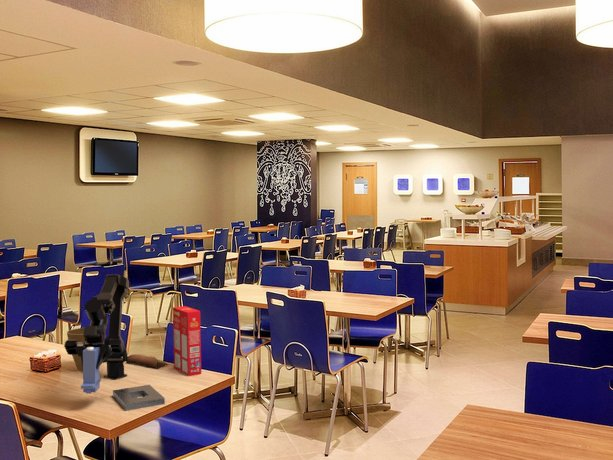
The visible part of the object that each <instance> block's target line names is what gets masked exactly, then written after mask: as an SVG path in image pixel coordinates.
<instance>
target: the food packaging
mask: <svg viewBox="0 0 613 460" xmlns="http://www.w3.org/2000/svg"><path fill="white" fill-rule="evenodd" d="M172 326H173V327H172V329H173V331H172V333H173V334H172V335H173V336H172V337H173V339H172V340H173V369H175V370H177V371H178V372H180V373H182V374H184V375H186V376H188V377H193V376H198V375H202V343H201V342H202V339H201V336H202V334H201V333H202V332H201V329H202V328H201V311H200V310H198V309H196V308H193V307H190V306H186V305H182V306H175V307H174V306H173V307H172Z"/></svg>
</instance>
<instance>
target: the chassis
mask: <svg viewBox="0 0 613 460" xmlns="http://www.w3.org/2000/svg"><path fill="white" fill-rule="evenodd" d="M112 397H113V398H114V399H115V400H116V401H117V402H118V403H119V404H120V406H121V407H122V408H123V409H124V410H125V411H132V410H139V409H143V408H149V407H154V406H161V405H165V403H166V401H165V399H166V398H165V397H164V396H163V395H162V394H161V393H159V391H157V390H156V389H155V388H154V387H153V386H152V385H150V384H146V385H139V386H134V387H133V386H132V387H127V388H121V389H115V390H114V389H113V390H112Z"/></svg>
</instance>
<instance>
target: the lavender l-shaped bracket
mask: <svg viewBox="0 0 613 460" xmlns="http://www.w3.org/2000/svg"><path fill="white" fill-rule="evenodd" d="M98 356H99V347H87V348H86V349H85V350H83V371H82V384H81V385H80V389H81V390H82V391H83V392H82V393H85V394H87V395H88V394H89V395H90V394H92V393H96V392H97V391H98V390H99V389H100V383H101V381H102V376H100V367H99V368H98V369H96V364H97V360H98Z"/></svg>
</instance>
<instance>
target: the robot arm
mask: <svg viewBox="0 0 613 460" xmlns="http://www.w3.org/2000/svg"><path fill="white" fill-rule="evenodd" d="M129 288H130V281H129V279H128V278H127V277H125V276H121V275H120V274H118V273H117V274H116V273H115V274H106V275H105V278H104V283H103V285H102V287H101V290H100V292H99V294H96V295H95V296H92V297H91V299H89V300H88V301H87V302H85V304H84V311H85V313H86V316H87V317H88V320H89V321H90V324H89V325H87V326H86V325H85V326H83V328H84V331H83V336H85V338H84V340H85V341H87V342H86V343H84V342H78V340H68V339H66V341H65V342H64V345H63V348H64V349H65V351H66V353H67V355H69V356H71V355H77V354H78V356H81V361H82V367H83V350H85V349H86V348H87V347H99V349H100V353H99V356H98V360H97V364H96V369H98V368H99V369H100V366H101V365H102V364H104V363H106V374H105V375H104V376H103V378H106V379H111V380H117V379H120V378H124V377H127V376H128V374H127V373H125V365H124V363H126V361H128V356H129V355H128V352H127V349H126V346H125V342H124V340H123V338H122V337H121V336H122V335H121V333H122V319H123V318H122V316H123V301H124V300H125V299H124V298H125V297H126V296H127V294H128V290H129ZM108 315H109V317H108ZM108 323H109V325H108ZM107 328H108V335H106V334H107V333H106V332H107Z"/></svg>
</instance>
